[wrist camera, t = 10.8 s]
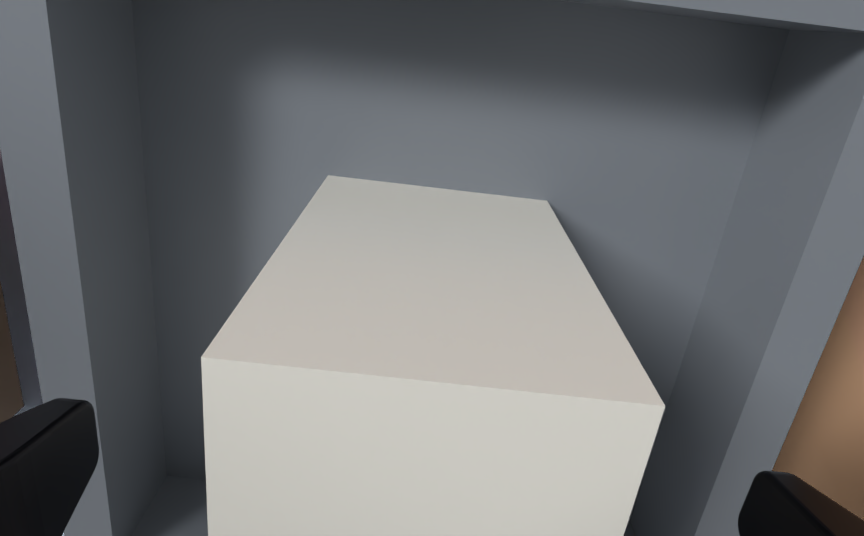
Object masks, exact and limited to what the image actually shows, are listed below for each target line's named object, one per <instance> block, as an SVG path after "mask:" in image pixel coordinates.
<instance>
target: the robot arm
mask: <svg viewBox="0 0 864 536" xmlns="http://www.w3.org/2000/svg"><path fill="white" fill-rule="evenodd" d="M98 458H99V444H98V436H97V428H96V420H95V412H94V408H93V406H92V404H91V403H90V402H88V401H86V400H78V399H69V398H56V399H53V400H51V401H48V402H46V403H44V404H42V405H39V406H37V407H35V408H33V409H30V410H28V411H26V412H23V413H21V414H19V415H17V416H14V417H12V418H10V419H8V420H5V421H3V422H1V423H0V536H62V534H63V532H64V530H65V528H66V526H67V524H68V522H69V520H70V518H71V516H72V514H73V512H74V510H75V508H76V506H77V504H78V502H79V500H80V499H81V497H82V495H83V493H84V491H85V489H86V487H87V485H88V483H89V481H90V479H91V477H92V475H93V473H94V471H95V468H96V466H97V463H98ZM738 531H739V535H740V536H864V521H863V520H862V519H860V518H859V517H857V516H856V515H854V514H853V513H851V512H850V511H848V510H847V509H845V508H844V507H842V506H841V505H839V504H838V503H836V502H835V501H833V500H831V499H830V498H828V497H827V496H825V495H824V494H822V493H821V492H819V491H818V490H816V489H815V488H813V487H812V486H810V485H809V484H807V483H806V482H804V481H803V480H801V479H800V478H798V477H797V476H795V475H793V474H790V473H785V472H775V471H761V472H759V473H758V474H757V475H756V476H755V477H754V479H753V482H752V484H751V486H750V489H749V491H748V494H747V496H746V498H745V501H744V503H743V506H742V508H741V510H740V513H739V517H738Z"/></svg>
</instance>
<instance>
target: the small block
mask: <svg viewBox="0 0 864 536" xmlns="http://www.w3.org/2000/svg"><path fill="white" fill-rule="evenodd" d="M201 369H202V394H203V419H204V444H205V470H206V495H207V520H208V536H624V533H625V530H626V526H627V523H628V520H629V517H630V514H631V511H632V508H633V505H634V502H635V499H636V496H637V492H638V489H639V486H640V483H641V480H642V477H643V474H644V471H645V468H646V465H647V462H648V458H649V455H650V452H651V449H652V446H653V443H654V440H655V437H656V434H657V431H658V428H659V424H660V421H661V418H662V415H663V412H664V409H665V405H664V403H663V401H662V399H661V398H660V396H659V394H658V392H657V391H656V389H655V387H654V386H653V384H652V382H651V380H650V379H649V377H648V375H647V373H646V372H645V370H644V368H643V366H642V365H641V363H640V361H639V359H638V358H637V356H636V354H635V352H634V351H633V349H632V347H631V346H630V344H629V342H628V340H627V339H626V337H625V335H624V333H623V332H622V330H621V328H620V326H619V325H618V323H617V321H616V319H615V318H614V316H613V314H612V313H611V311H610V309H609V307H608V306H607V304H606V302H605V300H604V299H603V297H602V295H601V293H600V292H599V290H598V288H597V286H596V285H595V283H594V281H593V279H592V278H591V276H590V274H589V273H588V271H587V269H586V267H585V266H584V264H583V262H582V260H581V259H580V257H579V255H578V253H577V252H576V250H575V248H574V246H573V245H572V243H571V241H570V240H569V238H568V236H567V234H566V233H565V231H564V229H563V227H562V226H561V224H560V222H559V220H558V219H557V217H556V215H555V213H554V212H553V210H552V208H551V206H550V205H549V203H548V201H545V200H536V199H528V198H519V197H511V196H502V195H494V194H485V193H476V192H468V191H459V190H451V189H442V188H434V187H425V186H416V185H408V184H399V183H391V182H382V181H374V180H365V179H356V178H348V177H339V176H331V175H328V176H327V177H326V179H325V180H324V182H323V183H322V185H321V186H320V187H319V189H318V190H317V192H316V193H315V195H314V196H313V197H312V199H311V200H310V202H309V203H308V205H307V206H306V207H305V209H304V210H303V212H302V213H301V215H300V216H299V218H298V219H297V220H296V222H295V223H294V225H293V226H292V228H291V229H290V230H289V232H288V233H287V235H286V236H285V238H284V239H283V240H282V242H281V243H280V245H279V246H278V248H277V249H276V250H275V252H274V253H273V255H272V256H271V258H270V259H269V260H268V262H267V263H266V265H265V266H264V268H263V269H262V271H261V272H260V273H259V275H258V276H257V278H256V279H255V281H254V282H253V283H252V285H251V286H250V288H249V289H248V291H247V292H246V293H245V295H244V296H243V298H242V299H241V301H240V302H239V303H238V305H237V306H236V308H235V309H234V311H233V312H232V313H231V315H230V316H229V318H228V319H227V321H226V322H225V324H224V325H223V326H222V328H221V329H220V331H219V332H218V334H217V335H216V336H215V338H214V339H213V341H212V342H211V344H210V345H209V346H208V348H207V349H206V351H205V352H204V354H203V355H202V356H201Z"/></svg>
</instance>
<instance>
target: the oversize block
mask: <svg viewBox="0 0 864 536" xmlns="http://www.w3.org/2000/svg"><path fill="white" fill-rule="evenodd" d="M23 406H24V403H23V398H22V393H21V387H20V382H19V377H18V372H17V366H16V361H15V356H14V350H13V345H12V340H11V335H10V329H9V324H8V319H7V314H6V308H5V303H4V298H3V292H2V287H1V282H0V423H1V422H3V421H5V420H8V419H10V418H12V417H13V416H14V415H15V414H16V413H17V412H18V411H19V410H20V409H21V408H22V407H23Z"/></svg>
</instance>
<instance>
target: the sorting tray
mask: <svg viewBox="0 0 864 536" xmlns="http://www.w3.org/2000/svg"><path fill="white" fill-rule="evenodd" d="M0 150H1V156H2V162H3V168H4V174H5V180H6V186H7V192H8V198H9V204H10V210H11V216H12V222H13V228H14V234H15V240H16V246H17V252H18V258H19V264H20V270H21V276H22V282H23V288H24V294H25V300H26V306H27V312H28V318H29V324H30V330H31V336H32V342H33V348H34V354H35V361H36V367H37V373H38V379H39V385H40V391H41V397H42V403H43V404H44V403H46V402H48V401H51V400H53V399H56V398H69V399H78V400H86V401H88V402H90V403H91V404H92V406H93V408H94V412H95V420H96V428H97V436H98V444H99V458H98V463H97V466H96V468H95V471H94V473H93V475H92V477H91V479H90V481H89V483H88V485H87V487H86V489H85V491H84V493H83V495H82V497H81V499H80V500H79V502H78V504H77V506H76V508H75V510H74V512H73V514H72V516H71V518H70V520H69V522H68V524H67V526H66V528H65V530H64V535H65V536H208V520H207V495H206V470H205V444H204V419H203V394H202V369H201V356H202V355H203V354H204V352H205V351H206V349H207V348H208V346H209V345H210V344H211V342H212V341H213V339H214V338H215V336H216V335H217V334H218V332H219V331H220V329H221V328H222V326H223V325H224V324H225V322H226V321H227V319H228V318H229V316H230V315H231V313H232V312H233V311H234V309H235V308H236V306H237V305H238V303H239V302H240V301H241V299H242V298H243V296H244V295H245V293H246V292H247V291H248V289H249V288H250V286H251V285H252V283H253V282H254V281H255V279H256V278H257V276H258V275H259V273H260V272H261V271H262V269H263V268H264V266H265V265H266V263H267V262H268V260H269V259H270V258H271V256H272V255H273V253H274V252H275V250H276V249H277V248H278V246H279V245H280V243H281V242H282V240H283V239H284V238H285V236H286V235H287V233H288V232H289V230H290V229H291V228H292V226H293V225H294V223H295V222H296V220H297V219H298V218H299V216H300V215H301V213H302V212H303V210H304V209H305V207H306V206H307V205H308V203H309V202H310V200H311V199H312V197H313V196H314V195H315V193H316V192H317V190H318V189H319V187H320V186H321V185H322V183H323V182H324V180H325V179H326V177H327V176H328V175H331V176H339V177H348V178H356V179H365V180H374V181H382V182H391V183H399V184H408V185H416V186H425V187H434V188H442V189H451V190H459V191H468V192H476V193H485V194H494V195H502V196H511V197H519V198H528V199H536V200H545V201H548V203H549V205H550V206H551V208H552V210H553V212H554V213H555V215H556V217H557V219H558V220H559V222H560V224H561V226H562V227H563V229H564V231H565V233H566V234H567V236H568V238H569V240H570V241H571V243H572V245H573V246H574V248H575V250H576V252H577V253H578V255H579V257H580V259H581V260H582V262H583V264H584V266H585V267H586V269H587V271H588V273H589V274H590V276H591V278H592V279H593V281H594V283H595V285H596V286H597V288H598V290H599V292H600V293H601V295H602V297H603V299H604V300H605V302H606V304H607V306H608V307H609V309H610V311H611V313H612V314H613V316H614V318H615V319H616V321H617V323H618V325H619V326H620V328H621V330H622V332H623V333H624V335H625V337H626V339H627V340H628V342H629V344H630V346H631V347H632V349H633V351H634V352H635V354H636V356H637V358H638V359H639V361H640V363H641V365H642V366H643V368H644V370H645V372H646V373H647V375H648V377H649V379H650V380H651V382H652V384H653V386H654V387H655V389H656V391H657V392H658V394H659V396H660V398H661V399H662V401H663V403H664V405H665V409H664V412H663V415H662V418H661V421H660V424H659V428H658V431H657V434H656V437H655V440H654V443H653V446H652V449H651V452H650V455H649V458H648V462H647V465H646V468H645V471H644V474H643V477H642V480H641V483H640V486H639V489H638V492H637V496H636V499H635V502H634V505H633V508H632V511H631V514H630V517H629V520H628V523H627V526H626V530H625V533H624V536H740V535H739V531H738V517H739V513H740V510H741V508H742V506H743V503H744V501H745V498H746V496H747V494H748V491H749V489H750V486H751V484H752V482H753V479H754V477H755V476H756V475H757V474H758V473H759V472H761V471H772V469H773V466H774V464H775V462H776V459H777V457H778V455H779V452H780V450H781V448H782V445H783V443H784V441H785V438H786V436H787V434H788V431H789V429H790V427H791V424H792V422H793V420H794V417H795V415H796V413H797V410H798V408H799V406H800V403H801V401H802V399H803V396H804V394H805V391H806V389H807V387H808V384H809V382H810V380H811V377H812V375H813V373H814V370H815V368H816V366H817V363H818V361H819V359H820V356H821V354H822V352H823V349H824V347H825V345H826V342H827V340H828V338H829V335H830V333H831V331H832V328H833V326H834V324H835V321H836V319H837V317H838V314H839V312H840V310H841V307H842V305H843V303H844V300H845V298H846V296H847V293H848V291H849V289H850V286H851V284H852V282H853V279H854V277H855V275H856V272H857V270H858V268H859V265H860V263H861V261H862V258H863V256H864V0H0Z"/></svg>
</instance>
